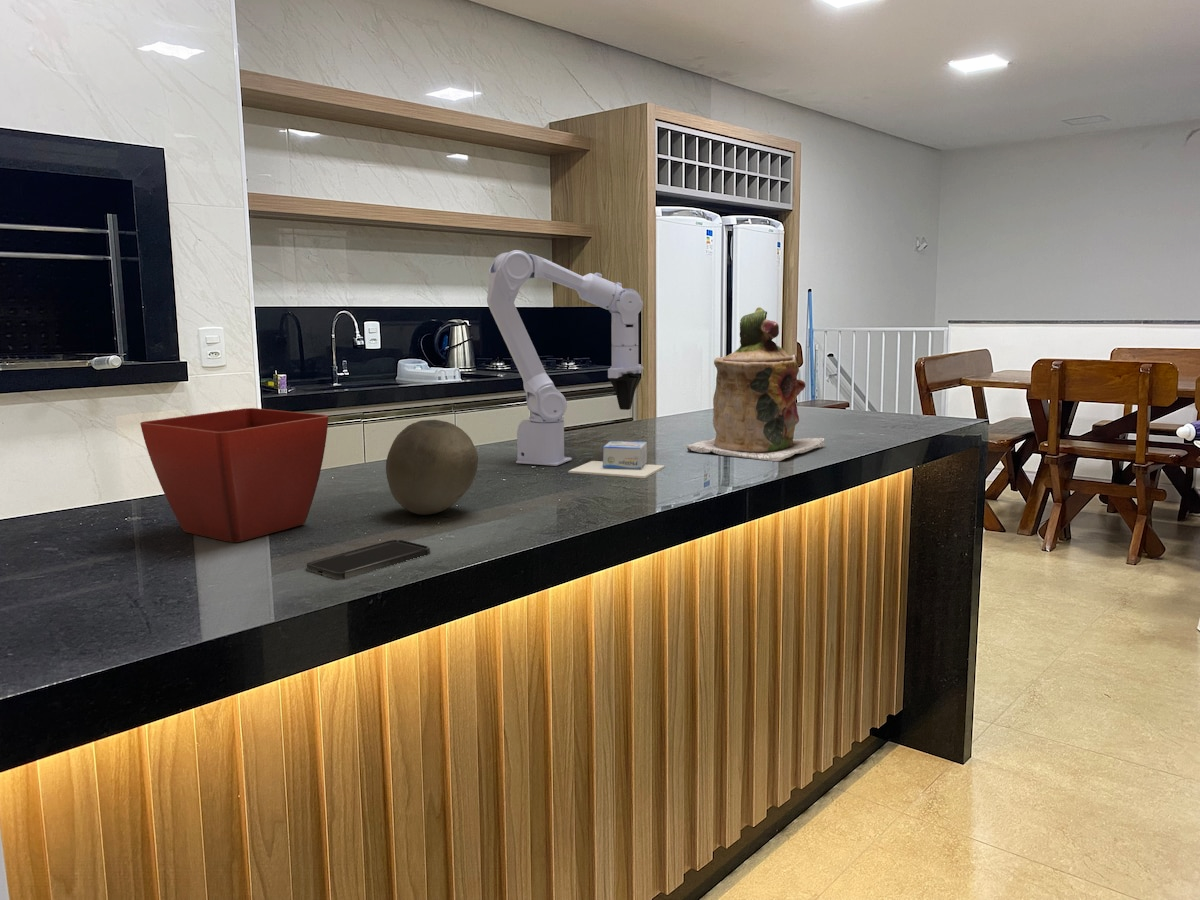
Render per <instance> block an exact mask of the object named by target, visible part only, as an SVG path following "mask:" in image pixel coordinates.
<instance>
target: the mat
mask: <svg viewBox="0 0 1200 900" xmlns="http://www.w3.org/2000/svg"><path fill="white" fill-rule="evenodd" d="M664 468H666V466H665V465H660V464H647V463H646V464H645V465H644V466H643V468H642V469H623V468H603V460H601V461H600V460H599V461H598V460H590V461H588V462H586V463H583V464H581V465H579V466H576V467H574V468H572V469H570V470H568V471H567V473H568V474H579V475H581V474H582V475H595V476H606V477H607V476H608V477H623V478H634V479H636V478H637V479H646V478H649V477H650V476H652V475H653V474H655V473H658V472H659V471H661V470H663V469H664Z"/></svg>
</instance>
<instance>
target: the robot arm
mask: <svg viewBox="0 0 1200 900" xmlns="http://www.w3.org/2000/svg"><path fill="white" fill-rule="evenodd" d="M536 278H537V279H538V278H541V279H544V280H547V281H550V282H553V283H555V284H558V285H561V286H564V287H566V288H567V289H571V290H575V291H576V293H577V295H578V297H579V299H580V300H582V301H584V302H587V303H590V304H592V305H594V306H596V307H599V308H602V309H605V310H608V312H609V313H610V314H611V326H610V327H611V366H610V368H607V378H608V379H609V381H610V383H611V385H612V388H613V389H614V393H615V395H616V396H615V397H616V398H617V399H616V400H617V403H618V404H617V405H618V408H619V410H623V411H625V410H626V411H629V410H631V409H632V405H633V401H634V396H635V393H636V390H637V386H638V385H639V383H640V380H641V375H639V374H641V373H642V371H644V370H645V368H644V366H642V364H640V363H639V313H641V311H642V309H643V307H644V301H643V300H642V297H641V295H640V294H639V292H638V291H637V290H635V289H634V288H627V287H626V288H623V287H622V286H623V283H621V282H619V281H617V282H613V281H610V280H609V279H605V278H603V274H602V273H599V272H595V273H591V272H589V273H587V274H585V275H580V274H578V273H577V272H574V271H572V270H570V269H567V268H565V267H563V266H561V265H559V264H558V263H555V262H553V261H550V260H548V259H546V258H544V257H541V256H538V255H536V254H532V253H527V252H525V251H523V250H518V249H514V250H511V251H508V252H506V251H505V252H502V253H499V254H498V255H497V256H496V257H495V258H494V260H493V261H492V264H491V266H490V267H489V269H488V286H487V287H488V288H487V297H486V302H487V306H488V308H489V310H490V314H491V315H492V317H493V319H494V321H495V324H496V325H497V328H498V331H499V332H500V334H501V336H502V338H503V341H504V343H505V345H506V347H507V349H508V351H509V354H510V357H512V360H513V362H514V364H515V366H516V369H517V370H518V373H519V375H520V377H521V378H522V379H521V380H522V382H523V390H524V392H525V396H526V405H527V409H528V410H529V412H530V413H531V414H530V416H529V417H528V419H523V420H521V421H520V422H519V424H518V426H517V431H516V442H517V443H516V444H517V445H516V446H517V447H516V448H517V452H516V453H517V454H516V455H517V460H515V463H516V464H525V465H538V466H539V465H540V466H554V467H557V466H559V465H562V464H565V463H566V462H569V461H572V459H573V458H572V457H570V456H569V457H567V456H565V418H564V417H563V416H564V415H565V413H566V410H567V408H568V405H567V404H568V403H567V402H568V401H567V399H566V397H565V396H564V393H561V392H560V391H559V390H558V389H557V388H556V386H555V384H554V381H553V380H552V379H551V378H550V376H549V375H548V374H547V372H546V371H545V368H544V366H543V364H542V362H541V359H540V357H539V355H538V353H537V350H536V348H535V346H534V344H533V341H532V340H531V337H530V335H529V333H528V330H527V329H526V326H525V324H524V322H523V319H522V318H521V316H520V313H519V311H518V309H517V307H516V304H515V301H516V298H517V296H518V294H519V292H520V289H521V288H522V287H523V285H525V283H526V282H527V281H528V280H530V279H536ZM635 374H637V375H635Z"/></svg>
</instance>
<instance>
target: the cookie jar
mask: <svg viewBox="0 0 1200 900" xmlns="http://www.w3.org/2000/svg"><path fill="white" fill-rule="evenodd" d="M767 315H768V311H765V309H763V308H762V307H760V306H758V307H757V308H755V311H754V312H752V313H749V314H745V315H743V316H742V317H741V318H740V322H739V339H740V340H739V343H740V346H739V347H738V348H737V349H736V350H734V351H733V352H732V353H729V354H728V355H726V356H720V357H719V356H718V357H715V358H714V360H713V363H714V367H715V368H716V378H715V381H716V382H715V391H714V394H713V398H712V399H713V400H712V402H713V403H712V404H713V405H712V406H713V408H712V410H713V411H712V412H713V413H712V414H713V418H712V426H713V429H714V431H715V432H716V434H715V437H713V438H711V439H706V440H699V441H698V442H694V443H690V444H686V445H685V447H686V449H687V452H690V451H693V452H697V453H702V454H703V453H713V454H716V455H719V456H727V457H728V456H729V457H737V458H746V459H753V460H762V461H767V460H768V461H769V462H781V461H783V460H785V459H787V458H791V457H793V456H794V455H795V454H804V453H807V452H809V451H812V450H815V449H817V448H822V447H823V446H824V443H825V438H824V437H807V438H798V439H796V438H794V433H795V428H796V425H797V424H798V423H799V422H800V418H799V412H798V406H797V402H796V398H797V397H798V396H799V395H800V394H801V392H802V391H804V390H805V388H806V382H805V381H803V379H798V374H799V372H800V367H799V359H798V356H797V355H796V354H792V355H791V354H790V355H789V354H788V353H787V352H786V351H785V349H784V347H781V346H779V345H777V343H776V342H775V341H773V340H774V339H775V338H777V337H778V336H779V334H780V327H779V323H778V322H776V321H773V320H769V319H767Z"/></svg>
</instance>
